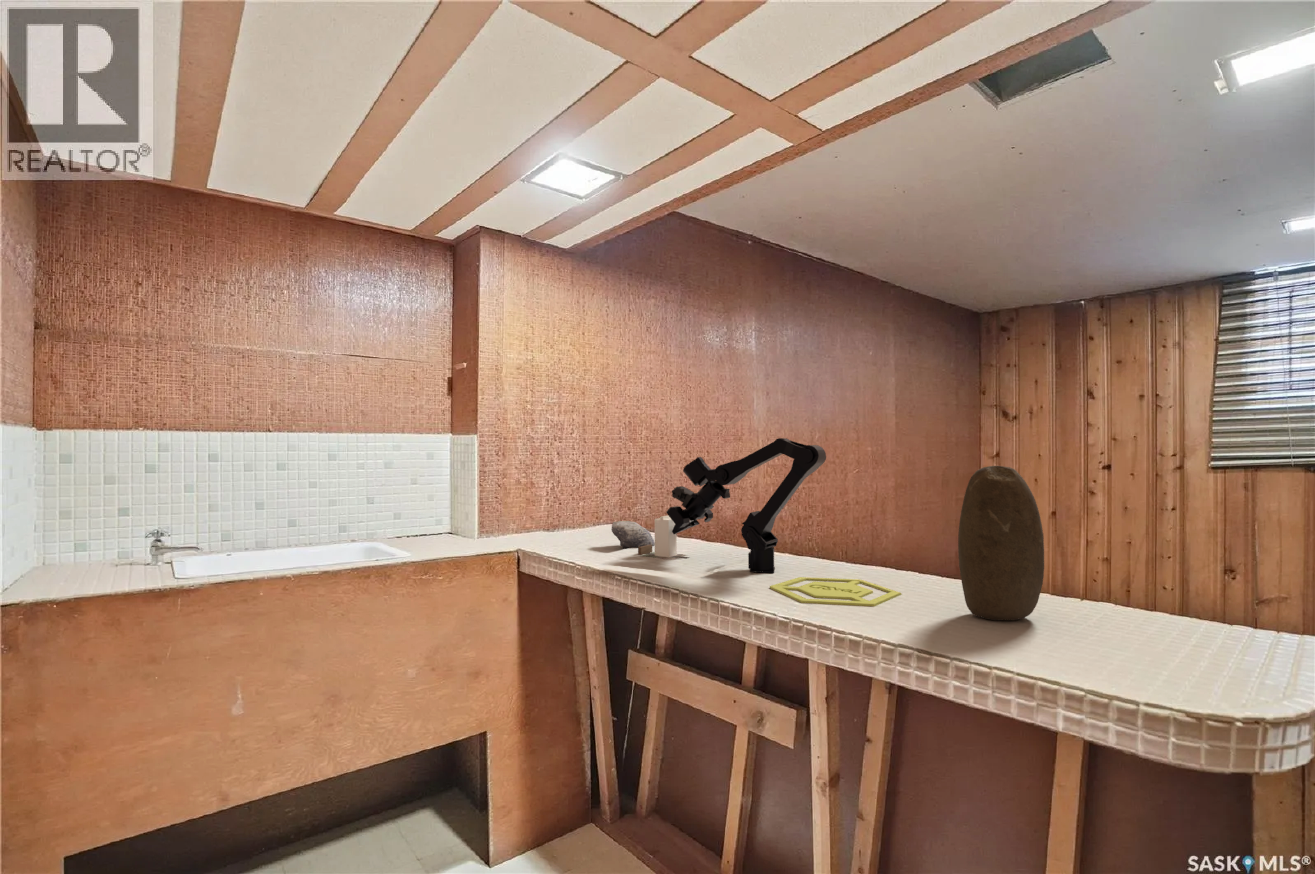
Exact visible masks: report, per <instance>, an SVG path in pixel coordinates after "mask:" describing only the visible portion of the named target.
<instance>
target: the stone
mask: <svg viewBox="0 0 1315 874" xmlns="http://www.w3.org/2000/svg"><path fill="white" fill-rule="evenodd" d="M1027 483H1028V482H1026V480H1025V479H1024V478H1023V477H1022V476H1021V475H1020V473H1019V472H1018V471H1017V470H1016V469H1015V468H1013V467H1010V466H1003V465H989V466H984V467H981V468H978V469H977V470H976V471H975V472H974V473H973V474H972V476H971V477H970V479H969V480H968V484H967V486H966V489H965V491H964V492H965V493H964V496H963V501H962V505H961V509H960V510H961V511H960V516H959V524H958V536H957V537H958V538H957V541H958V542H957V543H958V544H957V546H958V549H957V552H958V567H959V574H960V580H961V586H962V591H963V592H962V593H963V596H964V600H965V601H964V602H965V605H966V606H967V608H968V610H969V611H970V613H971V614H972V615H974V616H976V617H978V618H981V619H985V620H991V621H1016V620H1023V619H1025V618H1027V617H1028V616H1030V615H1031V614H1032V613H1033V612H1034V610H1035V609H1036V606H1037V605H1038V602H1039V599H1040V596H1041V591H1042V589H1043V588H1042V587H1043V583H1044V575H1045V543H1044V531H1043V530H1044V529H1043V525H1042V520H1041V515H1040V510H1039V507H1038V504H1037V502H1036V499H1035V497H1034V494H1033V491H1032V490H1031V488H1030V487H1029V485H1028V484H1027Z"/></svg>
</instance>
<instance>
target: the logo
mask: <svg viewBox="0 0 1315 874" xmlns="http://www.w3.org/2000/svg"><path fill="white" fill-rule="evenodd" d="M805 581H806V582H807V581H809V582H808V583H806V584H802V585H799V586H793V585H796V584H799V583H802V582H805ZM810 581H811V582H810ZM859 584H862V585H865V586H868V587H871V588H874V589H877V590H880V591H883V592H884V593H885V594H883V595H879V596H877V597H875V598H873V599H870V600H868V599H867V598H864V597H867V596H869V595H872V594H874V590H873V589H869V588H866V587H863V586H861V585H859ZM769 589H770V590H772V591H775V592H777V593H780V594H782V595H783V596H786V597H788V598H790V599H792V600H795V601H797V602H799V603H801V604H813V605H814V604H816V605H832V606H833V605H834V606H835V605H837V606H839V605H840V606H856V607H858V606H859V607H878V605H881V604H883V603H886V602H888V601H891V600H893V599H895V598H897V597H899V596H901V595H903V593H901V592H900V591H897V590H894V589H891V588H888V587H884V586H882V585H879V584H876V583H873V582H869V581H867V580H863V579H861V578H860V579H855V578H854V579H853V578H852V579H851V578H832V577H830V578H829V577H828V578H827V577H806V576H802V577H801V576H799V577H795V578H792V579H789V580H784V581H782V582H779V583H776V584H772V585H769ZM793 591H798V592H801V593H803V594H806V595H808V596H810V597H813V598H806V597H804V596H802V595H800V594H797V593H795V592H793Z"/></svg>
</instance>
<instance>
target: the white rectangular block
mask: <svg viewBox="0 0 1315 874" xmlns="http://www.w3.org/2000/svg"><path fill="white" fill-rule="evenodd" d="M674 526H675V523H674V522H673V521H672V519H671V518H670V517H669V515H668V514H667V515H663V516H660V517H659V518H654V543H655V545H654V552H655V557H656V556H657V557H667V558H668V557H672V556H677V554H678V551H677V550H678V546H677V545H678V543H677V537H678V536H677V534H678V533H677V534H673V533H672V530H673V528H674Z"/></svg>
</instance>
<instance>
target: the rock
mask: <svg viewBox="0 0 1315 874" xmlns="http://www.w3.org/2000/svg"><path fill="white" fill-rule="evenodd" d="M611 532H612V534H613V536H615V537H616V538H617V539H618V541H619V547H621V548H623V549H624V550H627V549H631V548H634V549H635V548H636V549H638V547H641V546H645V545H652V547H655V538H653V536H652V533H651V532H650V531H649V530H648V529H647V528H646V527H643V526H642V525H641V524H639V523H637V522H636V521H630V520H626V521H625V520H622V521H621V520H619V521H612V525H611Z"/></svg>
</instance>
